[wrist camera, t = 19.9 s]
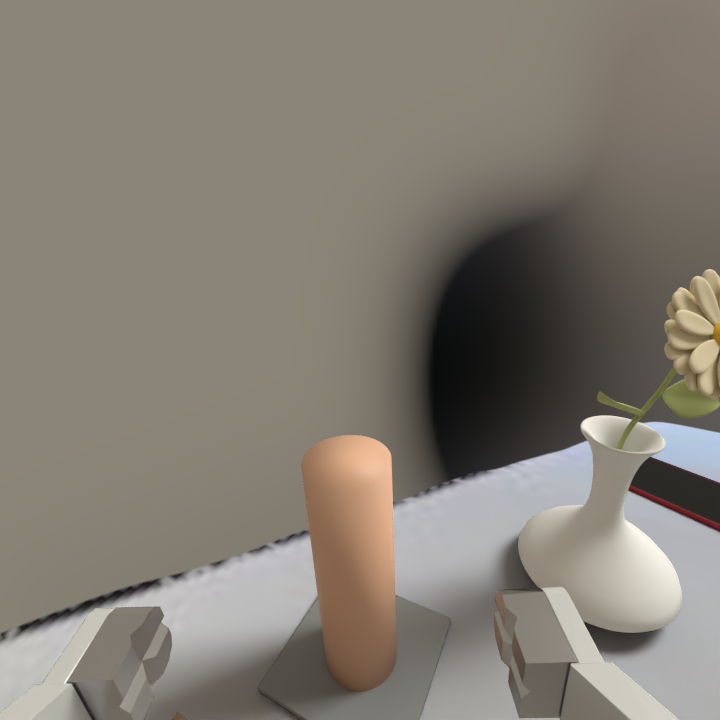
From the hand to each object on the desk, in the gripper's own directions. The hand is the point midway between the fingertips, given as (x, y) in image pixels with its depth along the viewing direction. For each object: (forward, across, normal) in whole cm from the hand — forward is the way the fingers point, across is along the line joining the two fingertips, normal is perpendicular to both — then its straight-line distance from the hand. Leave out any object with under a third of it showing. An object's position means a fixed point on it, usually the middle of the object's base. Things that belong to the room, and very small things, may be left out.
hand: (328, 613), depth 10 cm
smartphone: (+27, -33, +22) cm, 48 cm away
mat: (+12, +1, +20) cm, 24 cm away
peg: (+12, +1, +20) cm, 23 cm away
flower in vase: (+17, -19, +21) cm, 33 cm away
